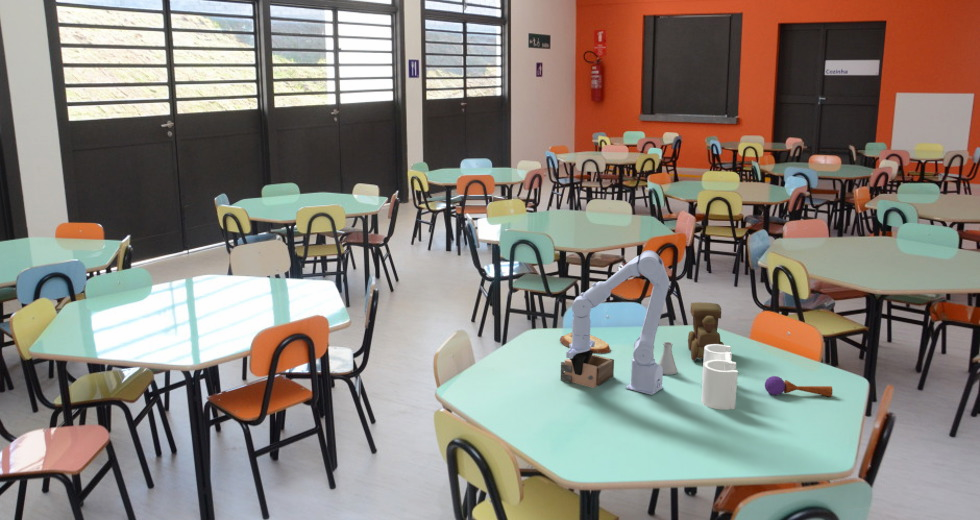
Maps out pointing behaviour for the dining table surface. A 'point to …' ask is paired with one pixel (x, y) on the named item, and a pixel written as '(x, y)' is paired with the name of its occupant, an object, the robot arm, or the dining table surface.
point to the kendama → (793, 387)
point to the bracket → (719, 377)
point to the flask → (668, 360)
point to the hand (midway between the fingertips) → (580, 373)
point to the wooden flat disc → (598, 348)
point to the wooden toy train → (703, 328)
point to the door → (583, 374)
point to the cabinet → (603, 369)
